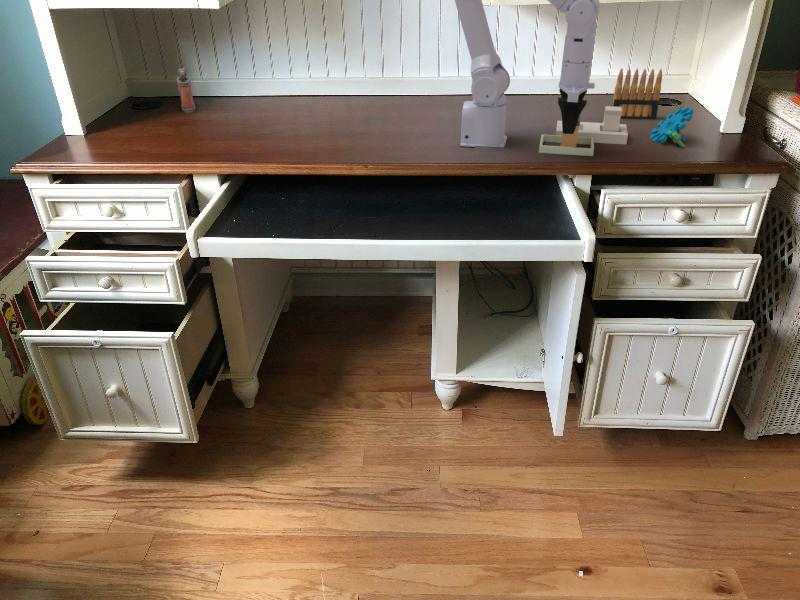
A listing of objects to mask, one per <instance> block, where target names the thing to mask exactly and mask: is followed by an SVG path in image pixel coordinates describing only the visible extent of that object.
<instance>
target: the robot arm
mask: <svg viewBox="0 0 800 600" xmlns="http://www.w3.org/2000/svg"><path fill="white" fill-rule="evenodd" d="M547 1H548V2H549V3H550V5H552V6H553V7H554V8H555V9H556V10H557V11H559V12H560V13H563V14H564V16H565V20H566V23H567V27H566V34H565V36H564V46H563V54H562V60H561V61H562V63H561V70H560V79H559V82H558V88H559V90H558V92H559V94H560V96H561V97H557V103H558V107H559V109H560V112H561V113H560V114H561V121H562V129H563V134H574V131H575V129H576V126H577V122H578V119H579V117H581V113H582V112H583V110H584V109H585V107H586V106H587V104H588V100H586V99H584V98H585V96H586V94H587V93H588V90H589V89H590V90H593V89H595V85H596V84H595V82H590V78H591V71H592V64H593V57H594V50H595V42H596V34H595V33H596V30H597V22H596V21H597V18H598V17H599V15H600V12H601V3H600V0H547ZM454 3H455V6H456V9H457V13H458V17H459V20H460V24H461V27H462V30H463V34H464V39H465V42H466V45H467V49H468V53H469V56H470V59H471V64H470V76H471V80H472V81H471V87H470V91H471V92H470V93H471V95H472V100H466V101H464V102H463V105H462V112H461V129H460V144H459V145H460V146H461V147H469V148H476V146H478V147H480V146H481V147H491V148H493V147H494V148H495V147H496V148H504V147H505V145H506V142H507V139H508V136H507V135H505V134H506V132H505V131H506V117H507V105H508V104H507V103H508V99H507V97H506V94H505V92H506V91H507V90H508V88H509V87H510V84H511V77H510V73H509V71H508V70H507V69H506V68H505V67H504V65H503V64H502V59H501V57H500V56H499V54H498V53H497V51H496V50H495V45H494V42H493V38H492V33H491V32H490V27H489V23H488V19H487V15H486V12H485V8H484V4H483V0H454Z"/></svg>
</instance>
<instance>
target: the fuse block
mask: <svg viewBox="0 0 800 600" xmlns="http://www.w3.org/2000/svg"><path fill="white" fill-rule="evenodd" d="M556 122H557V124H556V129H555V130H556V131H555V135H562V120H557V121H556ZM602 127H603V122H590V121H588V122H587V121H580V126H579V129H578V136H579V137H594V144H595V143H597V144H598V143H599V144H611V145H612V144H613V145H624V146H625V145H627V143H628V138H629V137H628V136H629V134H628V128H627V127H628V126H627V124H626V123H625V124H623V123H620V124H619V130H618V132H607V131H602Z"/></svg>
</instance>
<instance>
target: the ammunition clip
mask: <svg viewBox="0 0 800 600" xmlns="http://www.w3.org/2000/svg"><path fill="white" fill-rule="evenodd" d="M639 73H640V72H639V69H638V68H636V70H635V71H634V74H633V77H632V72H631V68H628V70H627V72H626V74H625V79H624V69H623V68H620V69H619V72H618V74H617V80H616V83H615V86H614V87H615V88H614V92H613V98H612V103H611V106H614V107H622V115H621V118H620V120H621V119H624V120H625V119H626V120H657V116H658V110H659V109H658V108H659V102H660V96H661V90H662V81H663V70H662V68H661V69H659V71H658V74H657V76H656V80H655V70H654V68H653V69H651V71H650V73H649V76H648V81H647V69H646V68H643V71H642V73H641V76H640V80H639ZM631 77H632V80H631ZM623 80H624V82H623ZM654 80H655V81H654ZM631 81H632V82H631ZM646 81H647V84H646ZM623 83H624V84H623ZM654 83H655V84H654Z"/></svg>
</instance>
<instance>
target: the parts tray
mask: <svg viewBox="0 0 800 600" xmlns="http://www.w3.org/2000/svg"><path fill="white" fill-rule="evenodd" d="M561 137H562V135H556V134H545V133H544V134H541V136H540V141H539V147H538V153H539V154H552V155H553V154H556V155H566V156H567V155H569V156H570V155H571V156H585V157H593V156H594V152H595V143H594V137H579V136H578V137H577V144H576V145H578V144H579V145H589V147H577V146H576V147H561V145H545V144H544V142H546V143H557V144H558V143H559V144H561ZM543 144H544V145H543Z"/></svg>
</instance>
